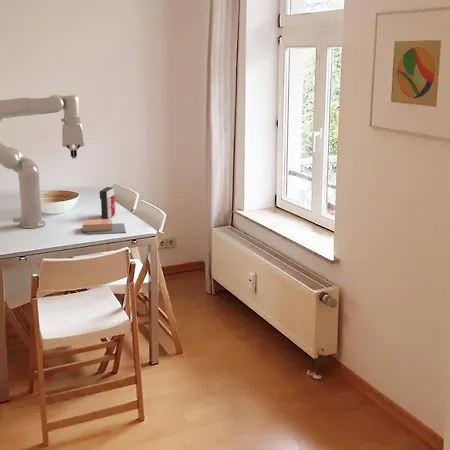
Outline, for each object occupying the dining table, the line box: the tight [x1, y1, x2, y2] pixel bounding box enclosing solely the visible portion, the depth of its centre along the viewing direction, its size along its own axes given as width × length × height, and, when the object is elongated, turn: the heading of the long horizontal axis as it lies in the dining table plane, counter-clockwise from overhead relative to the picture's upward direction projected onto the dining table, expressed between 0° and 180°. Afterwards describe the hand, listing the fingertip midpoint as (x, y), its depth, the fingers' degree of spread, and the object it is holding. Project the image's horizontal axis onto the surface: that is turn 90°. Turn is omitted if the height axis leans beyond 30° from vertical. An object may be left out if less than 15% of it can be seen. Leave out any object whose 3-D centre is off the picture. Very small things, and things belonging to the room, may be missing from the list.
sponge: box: [82, 218, 113, 233], centre depth 318 cm, size 4×9×14 cm
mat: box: [86, 222, 127, 236], centre depth 319 cm, size 18×16×1 cm
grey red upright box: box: [99, 186, 116, 219], centre depth 340 cm, size 11×4×15 cm, turn 168°
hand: (74, 158), depth 323 cm, fingers closed
